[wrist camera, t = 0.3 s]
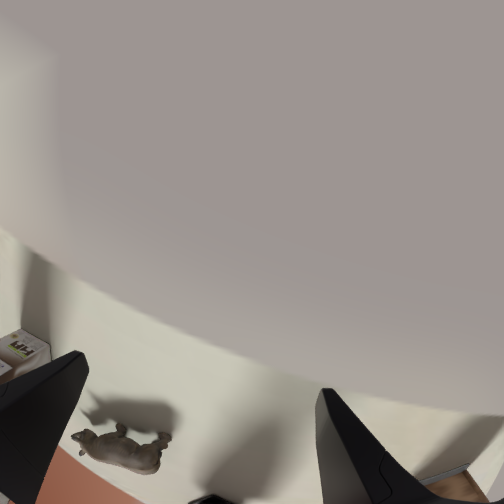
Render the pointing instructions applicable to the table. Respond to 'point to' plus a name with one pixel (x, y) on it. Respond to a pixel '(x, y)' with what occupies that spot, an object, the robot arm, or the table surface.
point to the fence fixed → (458, 488)
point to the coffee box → (21, 354)
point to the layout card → (444, 475)
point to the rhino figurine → (122, 450)
